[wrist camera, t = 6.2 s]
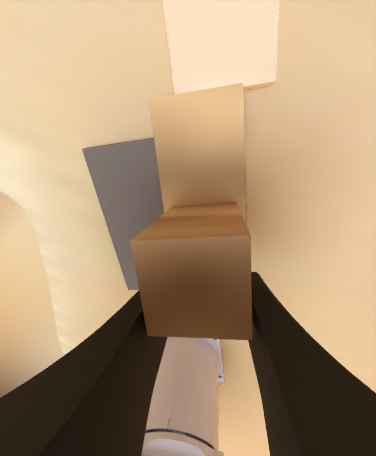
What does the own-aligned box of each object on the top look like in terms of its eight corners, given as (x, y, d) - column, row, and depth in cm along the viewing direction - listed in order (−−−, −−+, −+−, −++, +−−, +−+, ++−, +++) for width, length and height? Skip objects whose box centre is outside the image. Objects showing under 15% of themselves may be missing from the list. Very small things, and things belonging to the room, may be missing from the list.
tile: (275, 81, 12) (284, -108, 9) (174, 97, 13) (154, -69, 10) (268, 87, 14) (274, -73, 11) (179, 101, 14) (162, -42, 12)
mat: (214, 285, 21) (214, 287, 20) (129, 287, 22) (128, 289, 22) (197, 131, 15) (197, 131, 14) (84, 148, 16) (82, 149, 16)
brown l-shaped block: (245, 257, 13) (269, 348, 6) (175, 259, 13) (135, 342, 7) (240, 92, 10) (272, -30, 4) (156, 105, 11) (68, 22, 5)
